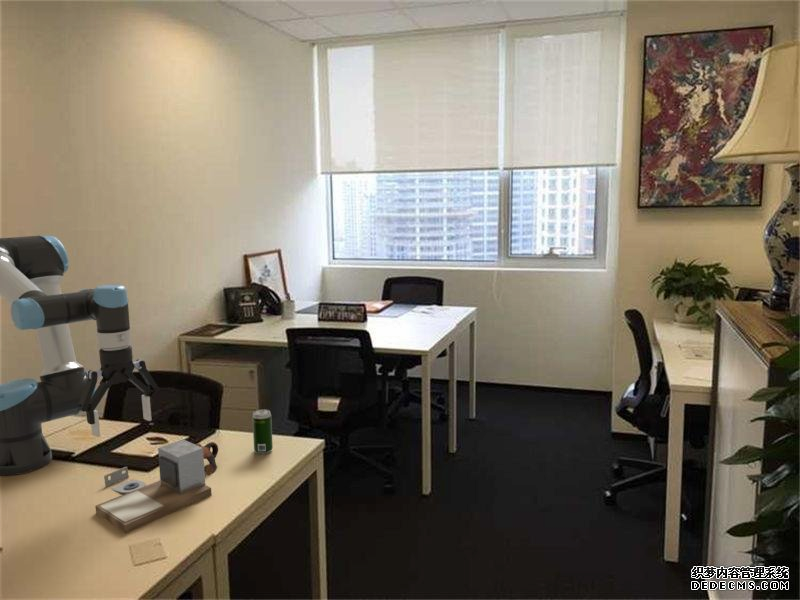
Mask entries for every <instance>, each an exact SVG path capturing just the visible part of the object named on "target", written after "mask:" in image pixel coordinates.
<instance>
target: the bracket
mask: <svg viewBox="0 0 800 600" xmlns="http://www.w3.org/2000/svg"><path fill="white" fill-rule="evenodd" d="M124 471H125V472H124ZM123 472H124V473H123ZM103 477H104V484H105V485H104V486H105V488H106V487H110V486H113V485H114V484H117V483H119V482H121V481H123V480H126V479H127V478H130V475H129V470H128V466H124V467H122V468H119V469H117V470H114V471H113V472H109V473H107V474H105V475H104V476H103ZM109 477H110V479H109ZM144 486H146V482H144V481H141V480H138V479H134V478H131V479H130V480H129V481H128V480H127V481H125V482H122V483H120V484H118V485H117V486H115V487H111V488H110V490H112V491H114V492H117V493H121V494H126V493H129V492H131V491H134V490H137V489H139V488H142V487H144Z"/></svg>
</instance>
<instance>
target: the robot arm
mask: <svg viewBox="0 0 800 600" xmlns="http://www.w3.org/2000/svg"><path fill="white" fill-rule="evenodd" d="M68 269H69V257H68V253H67V251H66V248H65V246H64V245H63V243H62V242H61V240H59V238H57V237H56V236H53V235H40V234H39V235H29V236H17V237H16V236H15V237H0V297H2V298H3V299H4V300H5V302H7V303H8V305H10V316H11V319H12V322H13V324H14V326H15V328H17V329H18V330H21V331H23V330H24V331H26V330H35V333H36V337H37V341H38V346H39V351H40V355H41V360H42V365H43V370H42V371H41V372H40V374H39V379H40V381H37V380H36V379H34V378H23V379H20V378H19V379H16V380H10V381H9V382H5V383H2V384H0V476H15V475H20V474H25V473H30V472H32V471H36V470H38V469H41V468H42V467H45V466H46V465H48V464H49V463H50V462H51V461H52V460H53V454H52V448H51V447H50V445H49V443H48V441H47V440H46V437H45V435H44V433H43V430H42V429H43V427H42V424H44V423H46V422H51V421H56V420H59V419H63V418H67V417H71V416H76V415H79V414H81V413H84V412H85V414H86V422H87V423H88V424H89V425H91V426H90V427H91V433H92V435H93V436H95V437H97V438H98V437H101V429H100V419H99V418H100V417H99V410H96V408H97V407H98V405H99V403H100V402H101V400H102V399H103V397H104V395H106V393H107V391H108V390H109V389H110V388H111V387H112V385H117V384H120V383H127V381H129V382H130V383H132V384H133V385H134V386H135V387H136V388H137V389H139V390H140V391H141V392H142V393H143V394H142V395H141V404H142V405H141V406H142V414H143V417H142V418H143V419H144V420H146V421H148V422H151V421H152V419H153V418H152V410H151V409H152V408H153V406H154V400H153V398H154V396H155V394H156V393H157V392H159V391H160V387H159V386H158V384H157V383H156V381H155V379H154V378H153V377H152V375H151V373H150V371H149V370H148V369H147V365H146V361H145V360H142V359H136V360H135V361H134V362H133V358H134V355H133V347H132V346H131V345H132V336H131V335H132V334H131V326H130V314H129V313H130V312H129V311H130V310H129V298H128V294H127V289H126V287H125V286H124V285H122V284H106V285H105V284H104V285H99V286H96V287H95V288H84V289H80V290H78V291H77V292H68V293H62V289H61V283H62V281H63V280H64V279H65V276H64V274H65V273H67V272H68ZM86 321H96V331H97V343H98V347H99V348H100V349H99V350H98V354H99V362H100V368H99V370H92V369H89V370H88V371H85V367H84V365H82V364H81V363H79V362H78V361H77V358H76V354H75V349H74V343H73V338H72V335H71V331H70V325H69V324H72V323H73V324H74V323H80V322H86ZM135 369H136V370H137V371H138V373H139V374H140V375H141V377H142V378H143V380H144V381H145V383H146V384H144V383H143V381H141V380H140V379H139V378H138V377H137V376H135V374H134V373H133V372H134V370H135ZM100 377H102V379H101V380H100V381H99V385H98V386H97V382H98V380H99V379H100Z"/></svg>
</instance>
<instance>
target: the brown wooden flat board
mask: <svg viewBox="0 0 800 600" xmlns="http://www.w3.org/2000/svg"><path fill="white" fill-rule="evenodd" d="M210 496H212V487H211V486H209V485H206V484H205V485H204V486H202V487H199V488H197V489H195V490H192V491H190V492H188V493H185V494H183V495H179V494H177V493H175V492H173V491H172V490H170V489H168V488H166V487H164V486H162V485H161V480H160V479H159V480H157V481H154V482H152V483H150V484H147V485H145V486H144V487H142V488H139V489H137V490H134V491H131V492H129V493H123V494H122V495H120V496H119V495H118V496H117V497H115V498H111V499H108V500H106V501H105V502H101V503H99V504H96V505H95V514H96V515H98V516H99V517H101V518H102V519H103V520H105V521H107V522H108V523H110V525H113V526H114V527H116V528H117V529H118V530H120V531H122V532H123V533H125V534H127V533H130V532H132V531H135V530H136V529H139V528H141V527H143V526H145V525H148V524H150V523H153V522H154V521H157V520H159V519H161V518H164V517H167V516H168V515H170V514H173V513H175V512H177V511H179V510H181V509H184V508H186V507H188V506H191V505H192V504H196V503H197V502H200V501H202V500H204V499H206V498H208V497H210Z"/></svg>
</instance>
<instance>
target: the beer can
mask: <svg viewBox="0 0 800 600" xmlns="http://www.w3.org/2000/svg"><path fill="white" fill-rule="evenodd" d="M272 423H273V422H272V413H271V411H270V410H269V409H258V410H255V411H253V412H252V432H253V433H252V434H253V435H252V436H253V437H252V439H253V450H254V452H255V454H257V455H267V454H270V453H271V452H273V447H274V446H273V427H272V426H273V424H272Z"/></svg>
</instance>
